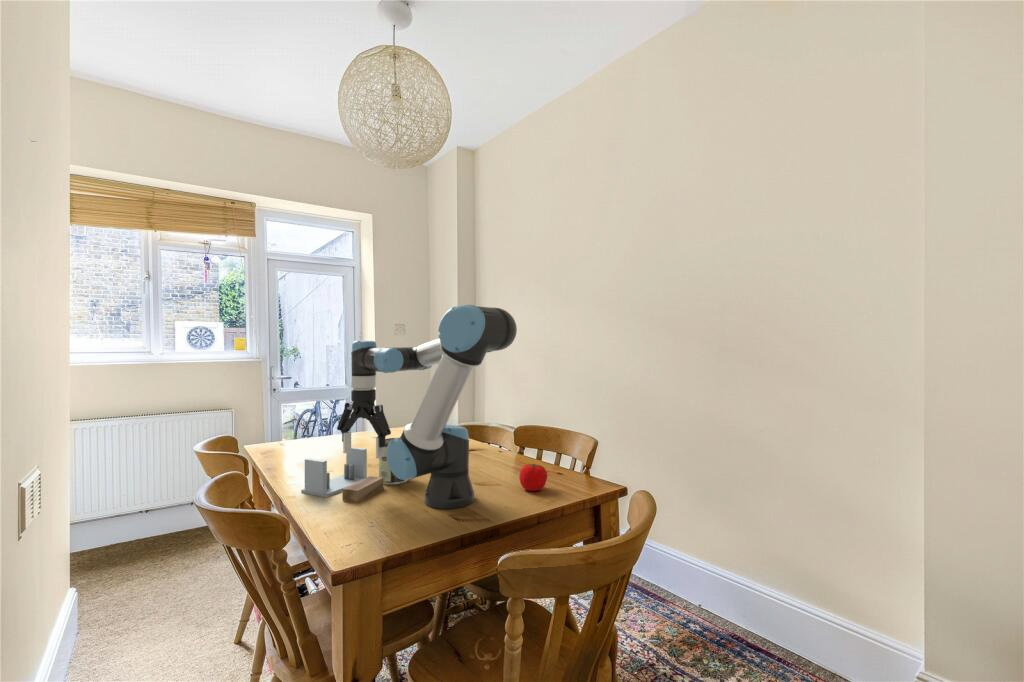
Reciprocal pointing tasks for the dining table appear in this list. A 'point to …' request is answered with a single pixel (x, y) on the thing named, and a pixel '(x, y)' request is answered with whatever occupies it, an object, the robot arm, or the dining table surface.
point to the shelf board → (362, 489)
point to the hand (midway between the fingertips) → (363, 454)
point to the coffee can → (388, 469)
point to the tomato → (533, 477)
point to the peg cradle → (325, 487)
